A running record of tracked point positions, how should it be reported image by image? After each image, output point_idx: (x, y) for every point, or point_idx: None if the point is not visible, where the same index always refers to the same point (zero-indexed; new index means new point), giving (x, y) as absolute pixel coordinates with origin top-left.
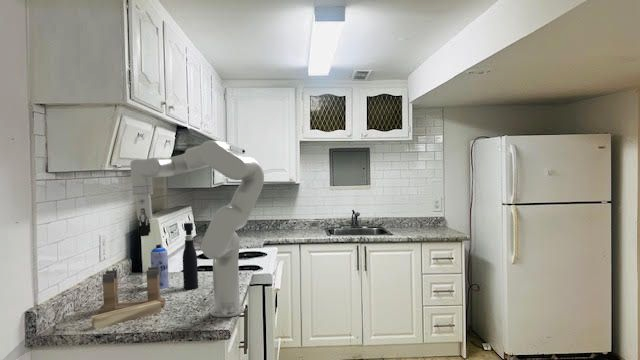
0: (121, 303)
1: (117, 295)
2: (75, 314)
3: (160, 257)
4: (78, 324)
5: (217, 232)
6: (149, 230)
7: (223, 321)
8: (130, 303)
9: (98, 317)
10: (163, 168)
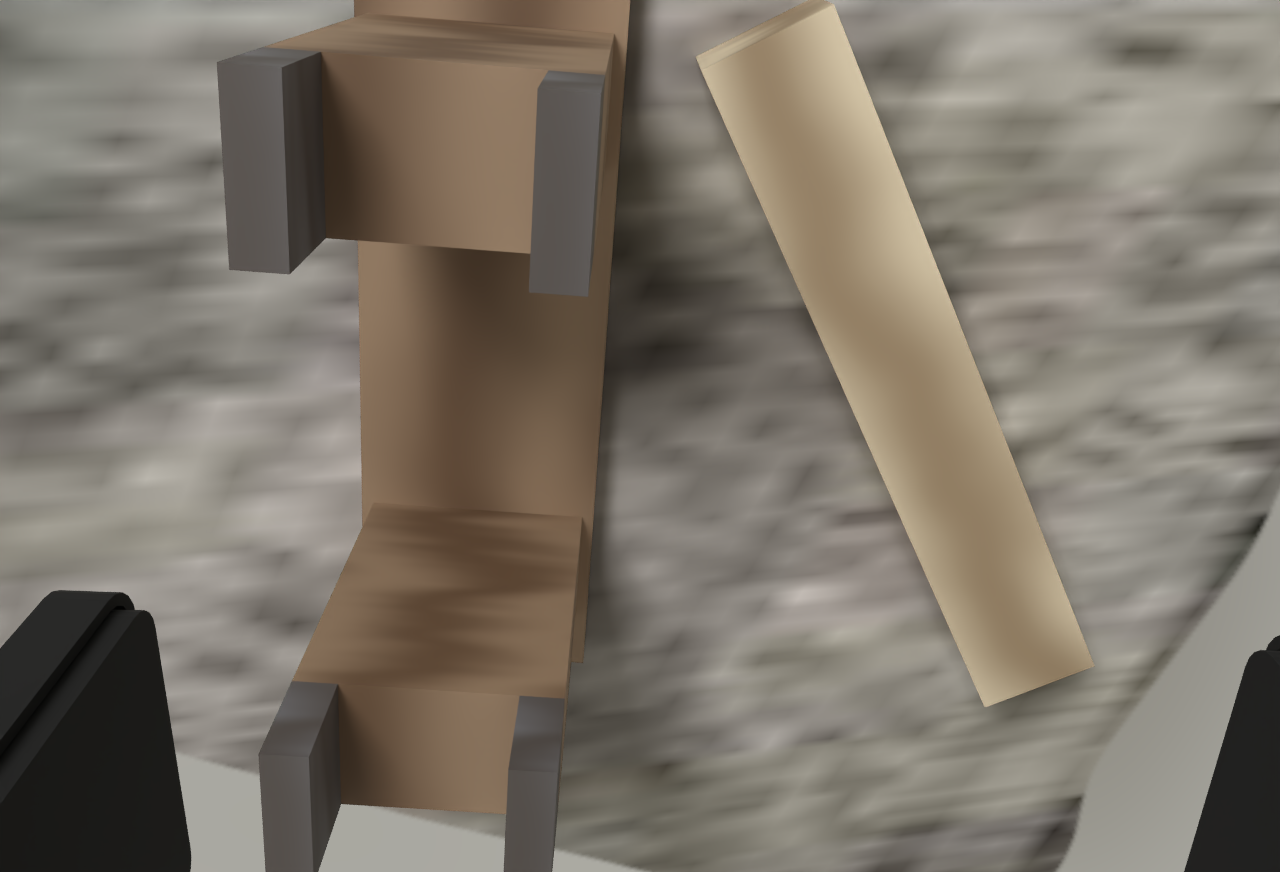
0: (407, 470)
1: (390, 553)
2: (494, 816)
3: None
4: (832, 753)
5: None
6: (113, 672)
7: None
8: (452, 375)
9: (1072, 644)
10: None
